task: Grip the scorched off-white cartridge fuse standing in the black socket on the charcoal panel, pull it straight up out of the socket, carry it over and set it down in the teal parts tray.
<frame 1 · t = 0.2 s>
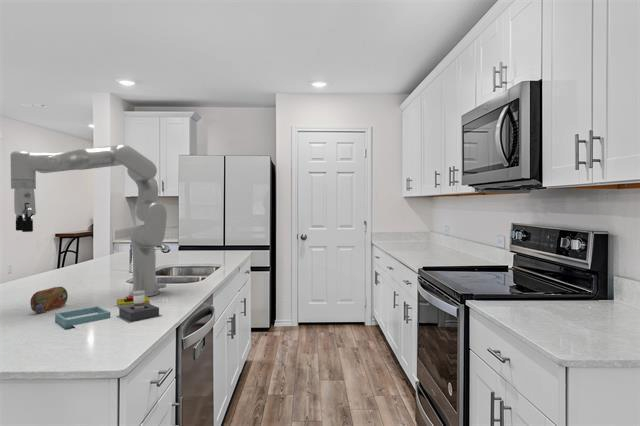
hand: (24, 231, 152), 31 cm above the countertop, tool pointing down, fingers open, 9 cm apart
parts tray: (83, 321, 144), on the countertop
emergency button: (134, 308, 165), on the countertop
fuse: (139, 315, 147), point 1 cm above the countertop, touching fuse panel
fuse panel: (139, 318, 147), on the countertop
tin: (49, 310, 159), on the countertop
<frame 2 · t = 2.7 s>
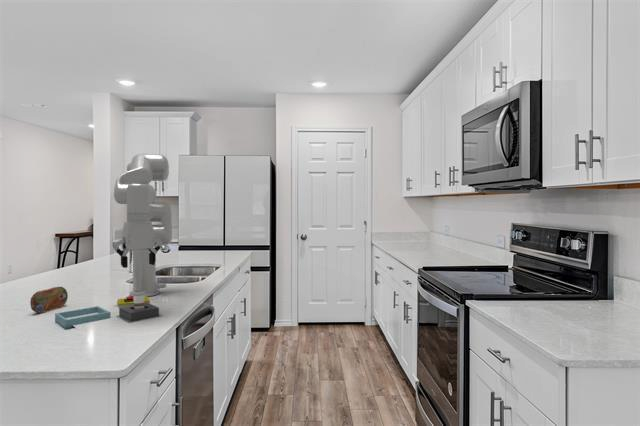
hand: (138, 265, 146), 19 cm above the countertop, tool pointing down, fingers open, 9 cm apart
nothing on the countertop moved.
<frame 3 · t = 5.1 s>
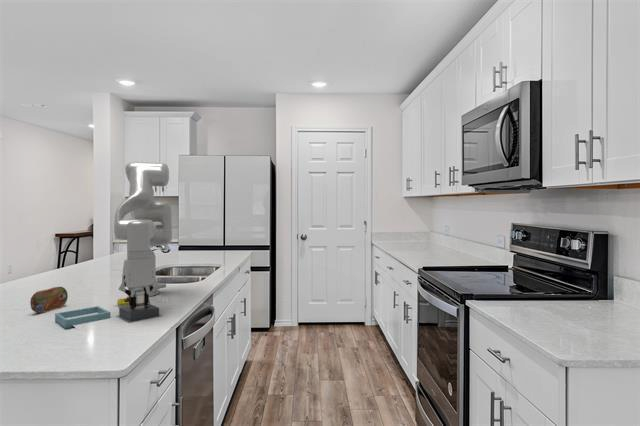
hand: (139, 305, 147), 5 cm above the countertop, tool pointing down, fingers closed on fuse, 3 cm apart
fuse: (139, 315, 147), point 1 cm above the countertop, touching fuse panel, gripper
everything else where it was.
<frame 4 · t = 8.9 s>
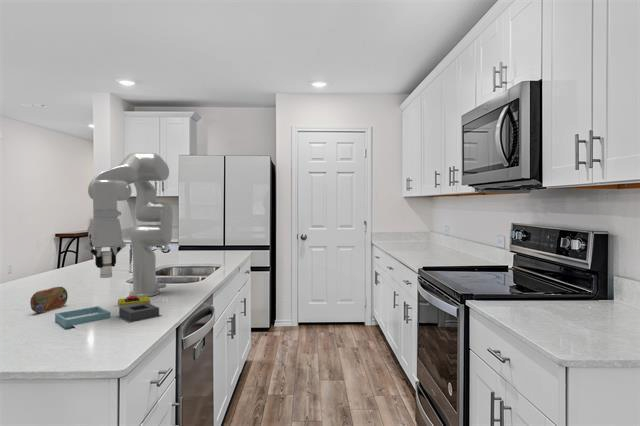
hand: (105, 266, 145), 19 cm above the countertop, tool pointing down, fingers closed on fuse, 3 cm apart
fuse: (106, 276, 145), point 15 cm above the countertop, touching gripper
everything else where it was.
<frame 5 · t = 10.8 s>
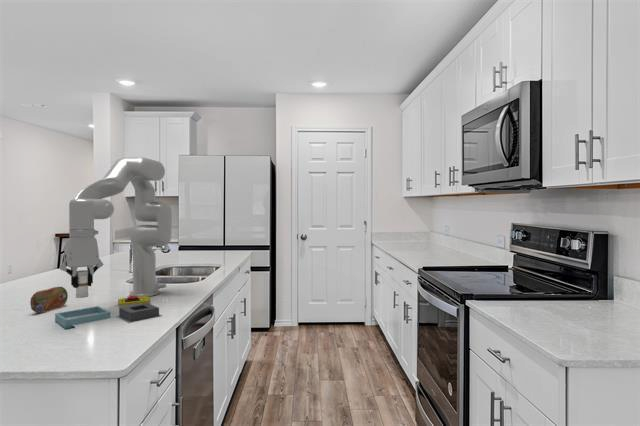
hand: (82, 286, 143), 13 cm above the countertop, tool pointing down, fingers closed on fuse, 3 cm apart
fuse: (82, 296, 143), point 9 cm above the countertop, touching gripper
everything else where it was.
when the fingers open (6 cm above the countertop, at t = 12.7 s): fuse drops 1 cm, resting on parts tray.
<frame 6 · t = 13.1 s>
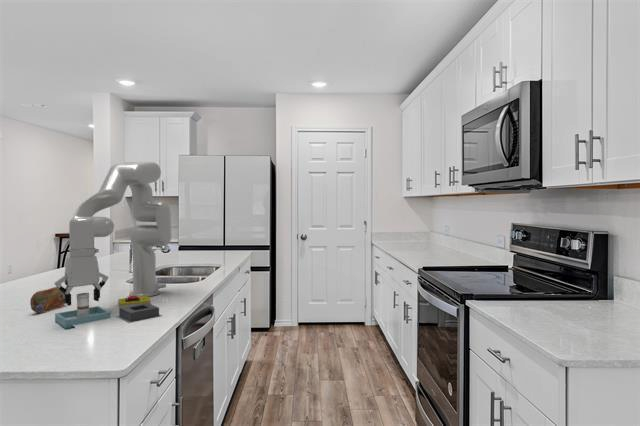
hand: (82, 302, 144), 7 cm above the countertop, tool pointing down, fingers open, 8 cm apart
fuse: (83, 319, 144), point 1 cm above the countertop, touching parts tray
everything else where it was.
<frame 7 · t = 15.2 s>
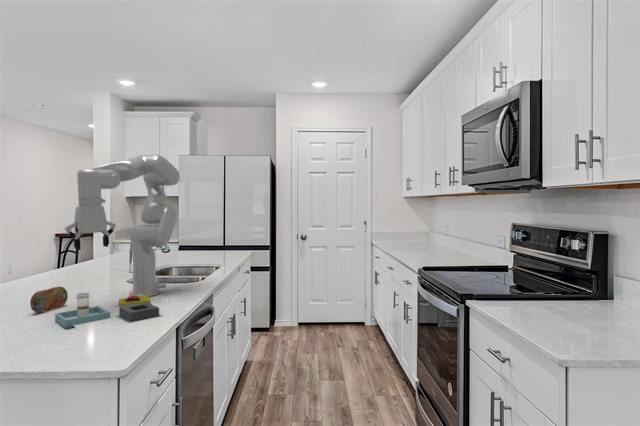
hand: (92, 247, 154), 25 cm above the countertop, tool pointing down, fingers open, 9 cm apart
nothing on the countertop moved.
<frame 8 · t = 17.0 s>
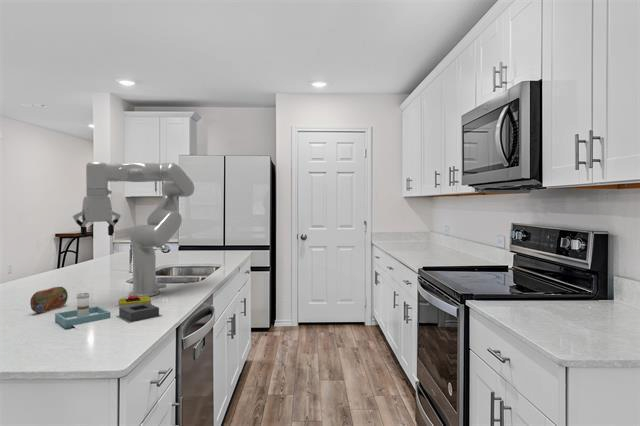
hand: (97, 236, 163), 28 cm above the countertop, tool pointing down, fingers open, 9 cm apart
nothing on the countertop moved.
at the end: fuse inside the target area on the parts tray (0.1 cm from its centre), point 0.6 cm above the parts tray's base; the gripper is holding nothing; fuse moved 18.5 cm from its start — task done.
